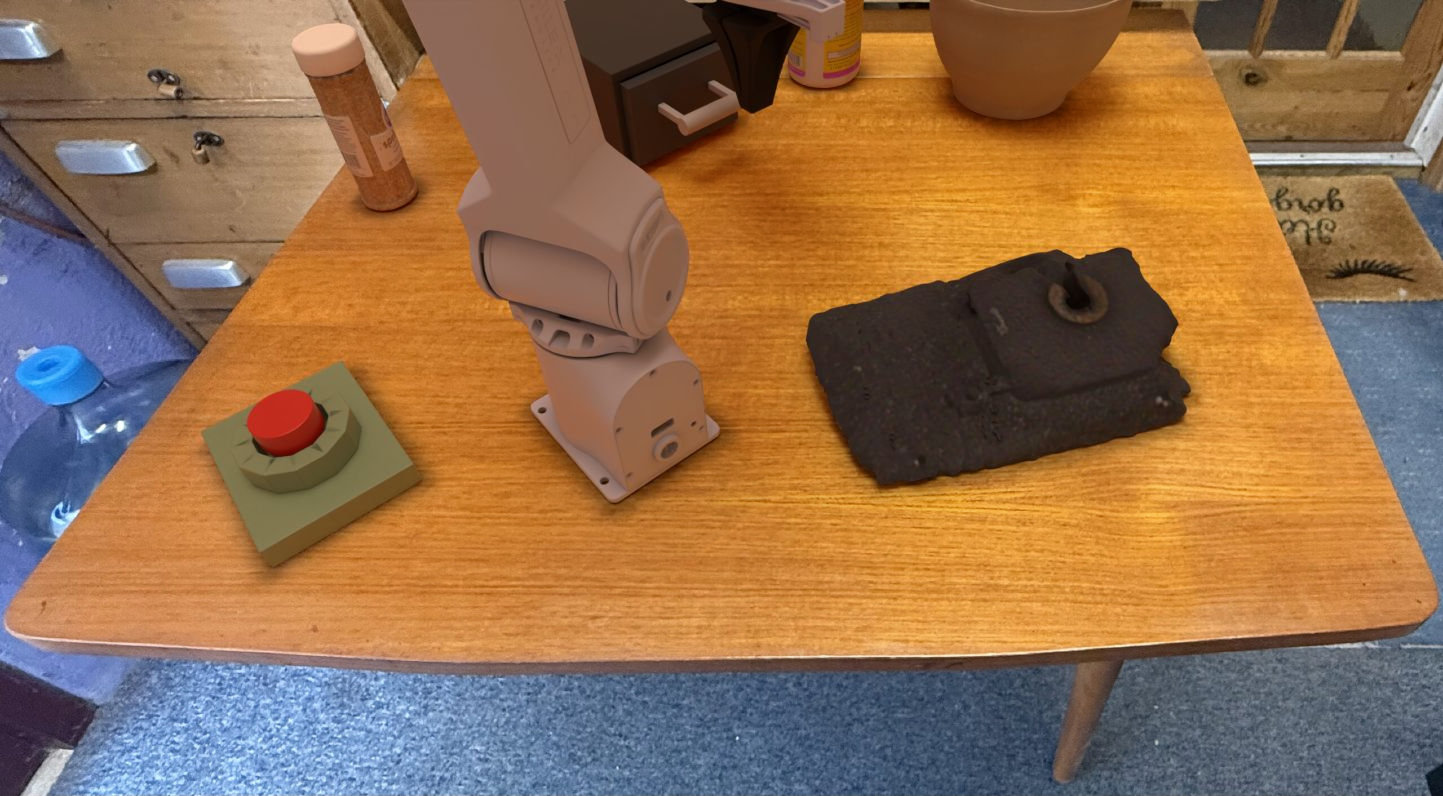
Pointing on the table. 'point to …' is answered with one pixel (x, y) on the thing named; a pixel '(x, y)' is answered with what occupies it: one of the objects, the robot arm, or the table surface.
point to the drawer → (678, 102)
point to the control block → (312, 469)
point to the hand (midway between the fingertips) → (756, 105)
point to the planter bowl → (1022, 50)
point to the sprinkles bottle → (355, 113)
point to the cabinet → (630, 48)
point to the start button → (285, 422)
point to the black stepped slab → (999, 365)
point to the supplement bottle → (828, 53)
